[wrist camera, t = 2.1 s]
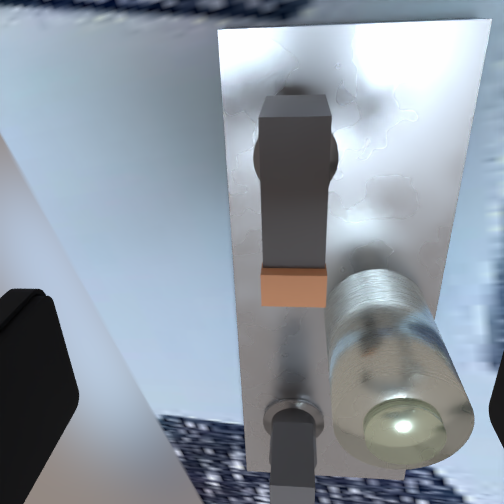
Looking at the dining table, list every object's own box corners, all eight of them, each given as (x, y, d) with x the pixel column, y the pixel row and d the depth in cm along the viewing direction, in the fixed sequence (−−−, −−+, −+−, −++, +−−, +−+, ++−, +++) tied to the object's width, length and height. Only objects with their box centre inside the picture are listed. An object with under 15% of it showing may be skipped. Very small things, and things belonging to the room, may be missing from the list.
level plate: (223, 28, 18) (165, 43, 10) (477, 18, 17) (628, 26, 9) (249, 451, 31) (231, 605, 23) (399, 459, 30) (435, 624, 22)
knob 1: (262, 85, 18) (246, 121, 12) (329, 83, 17) (344, 119, 12) (266, 223, 20) (253, 306, 15) (323, 224, 20) (333, 308, 15)
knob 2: (270, 385, 25) (262, 494, 20) (317, 387, 25) (322, 498, 19) (272, 456, 28) (265, 569, 22) (314, 458, 28) (317, 573, 22)
